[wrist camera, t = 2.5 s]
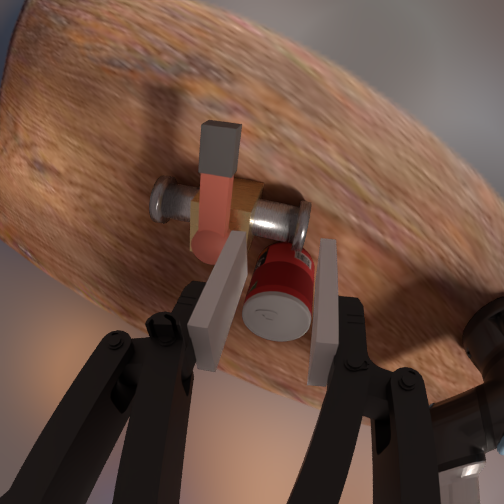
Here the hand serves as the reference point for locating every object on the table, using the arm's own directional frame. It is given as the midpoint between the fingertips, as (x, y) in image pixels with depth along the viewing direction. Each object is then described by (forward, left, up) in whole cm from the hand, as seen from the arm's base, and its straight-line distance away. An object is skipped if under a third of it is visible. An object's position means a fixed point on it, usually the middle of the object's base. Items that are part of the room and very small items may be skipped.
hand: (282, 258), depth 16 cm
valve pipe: (+7, +9, -23) cm, 25 cm away
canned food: (-1, +17, -23) cm, 28 cm away
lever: (+7, +4, -14) cm, 16 cm away
